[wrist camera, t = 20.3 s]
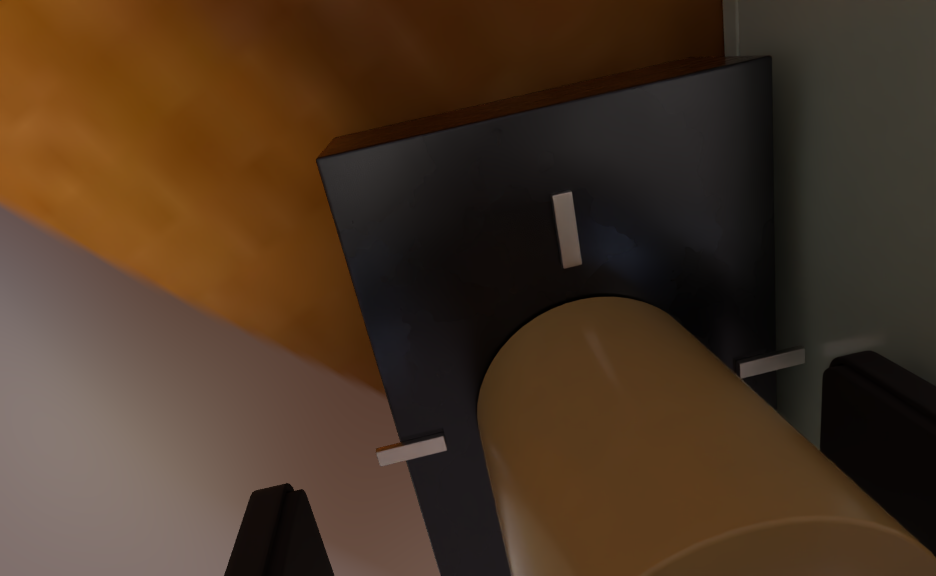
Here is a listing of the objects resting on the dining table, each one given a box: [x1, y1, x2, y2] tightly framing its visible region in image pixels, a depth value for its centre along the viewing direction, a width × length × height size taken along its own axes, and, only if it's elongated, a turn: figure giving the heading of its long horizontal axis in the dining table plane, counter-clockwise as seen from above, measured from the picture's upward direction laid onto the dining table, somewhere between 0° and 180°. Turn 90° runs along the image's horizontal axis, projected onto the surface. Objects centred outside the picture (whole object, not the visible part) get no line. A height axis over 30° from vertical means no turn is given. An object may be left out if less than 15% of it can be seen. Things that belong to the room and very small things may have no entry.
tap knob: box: [477, 297, 936, 576], centre depth 9 cm, size 5×5×6 cm
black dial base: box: [316, 55, 805, 576], centre depth 14 cm, size 12×9×3 cm
